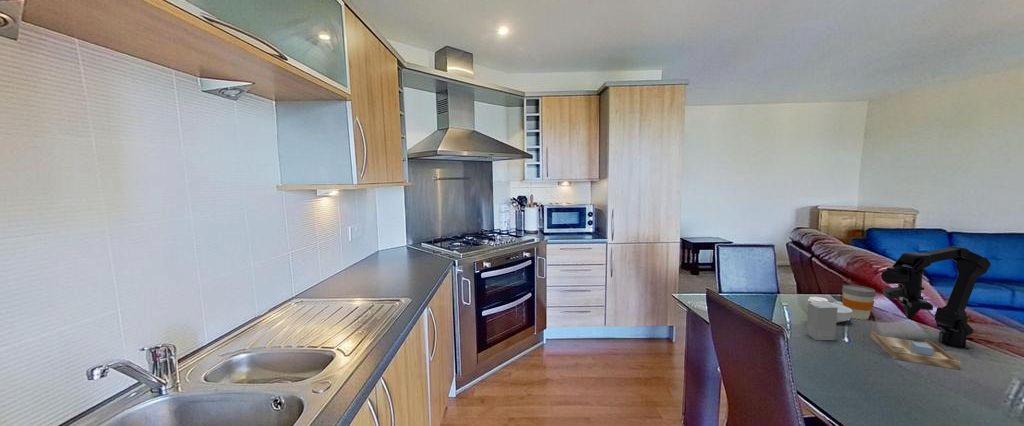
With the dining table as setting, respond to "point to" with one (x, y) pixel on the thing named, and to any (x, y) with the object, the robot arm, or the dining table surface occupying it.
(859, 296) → the reusable coffee cup
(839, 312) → the cereal bowl
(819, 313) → the skincare box
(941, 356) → the tray
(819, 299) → the paper cup
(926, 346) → the slate block
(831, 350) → the dining table surface
